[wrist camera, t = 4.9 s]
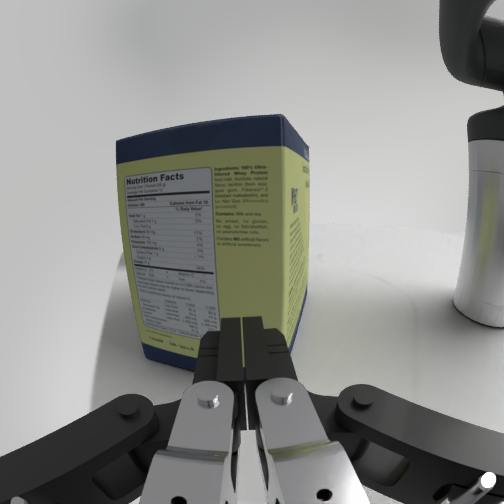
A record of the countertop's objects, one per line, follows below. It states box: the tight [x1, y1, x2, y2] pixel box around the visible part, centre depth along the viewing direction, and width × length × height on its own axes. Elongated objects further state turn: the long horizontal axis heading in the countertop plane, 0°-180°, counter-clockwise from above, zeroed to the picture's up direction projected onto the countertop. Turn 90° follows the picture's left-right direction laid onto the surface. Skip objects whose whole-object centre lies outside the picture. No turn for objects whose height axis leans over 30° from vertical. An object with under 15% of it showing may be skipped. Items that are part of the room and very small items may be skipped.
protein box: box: [116, 114, 310, 382], centre depth 22 cm, size 10×16×16 cm
